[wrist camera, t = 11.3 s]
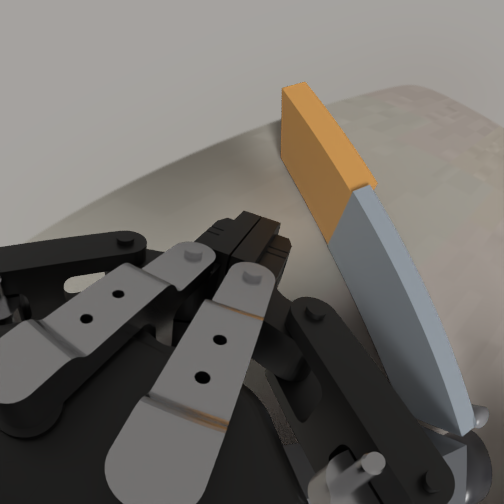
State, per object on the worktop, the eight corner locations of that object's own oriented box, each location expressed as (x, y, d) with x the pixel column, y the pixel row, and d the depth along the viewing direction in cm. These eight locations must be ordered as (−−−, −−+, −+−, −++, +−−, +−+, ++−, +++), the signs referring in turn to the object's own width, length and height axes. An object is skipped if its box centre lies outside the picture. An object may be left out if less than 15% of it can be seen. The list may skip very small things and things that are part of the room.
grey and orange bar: (280, 159, 22) (281, 85, 15) (302, 151, 22) (310, 77, 15) (403, 416, 16) (463, 441, 9) (425, 402, 16) (491, 419, 9)
